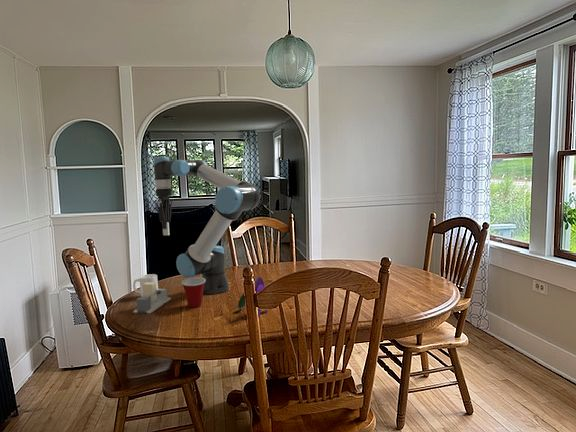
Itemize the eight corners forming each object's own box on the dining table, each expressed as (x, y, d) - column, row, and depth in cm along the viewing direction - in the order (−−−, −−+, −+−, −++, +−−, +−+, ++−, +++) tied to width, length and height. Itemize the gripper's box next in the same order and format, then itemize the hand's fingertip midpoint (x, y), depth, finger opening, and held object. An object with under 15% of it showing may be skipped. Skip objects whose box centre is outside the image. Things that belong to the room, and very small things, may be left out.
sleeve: (148, 300, 200) (146, 282, 199) (157, 301, 199) (156, 282, 198) (143, 303, 196) (142, 284, 195) (153, 303, 195) (151, 284, 194)
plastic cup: (180, 310, 191) (179, 283, 190) (184, 303, 202) (183, 277, 201) (205, 309, 192) (204, 282, 191) (208, 301, 203) (206, 276, 201)
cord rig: (155, 298, 210) (154, 286, 209) (170, 299, 209) (169, 287, 208) (133, 312, 190) (132, 299, 190) (150, 313, 189) (149, 299, 188)
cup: (155, 298, 211) (154, 278, 210) (130, 299, 211) (129, 278, 210) (160, 293, 219) (159, 273, 218) (136, 294, 219) (135, 274, 218)
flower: (234, 328, 182) (257, 318, 175) (220, 295, 184) (241, 283, 177) (255, 317, 194) (277, 307, 187) (241, 286, 196) (262, 275, 189)
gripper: (162, 187, 223) (165, 233, 225) (150, 189, 210) (153, 237, 212) (176, 187, 221) (178, 233, 224) (164, 188, 209) (167, 237, 211)
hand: (166, 235), depth 218 cm, fingers closed
